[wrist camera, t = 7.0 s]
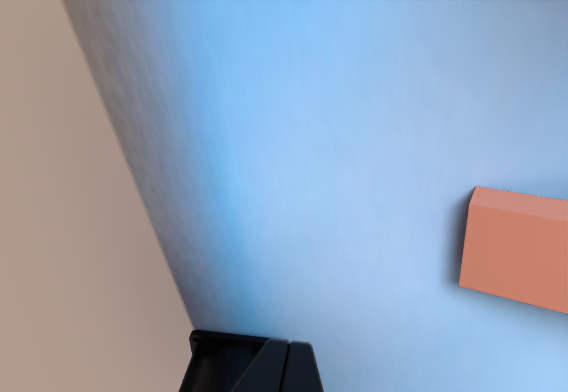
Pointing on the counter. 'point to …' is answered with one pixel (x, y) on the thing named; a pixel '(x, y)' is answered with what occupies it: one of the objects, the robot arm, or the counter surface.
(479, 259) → the domino
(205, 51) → the counter surface
